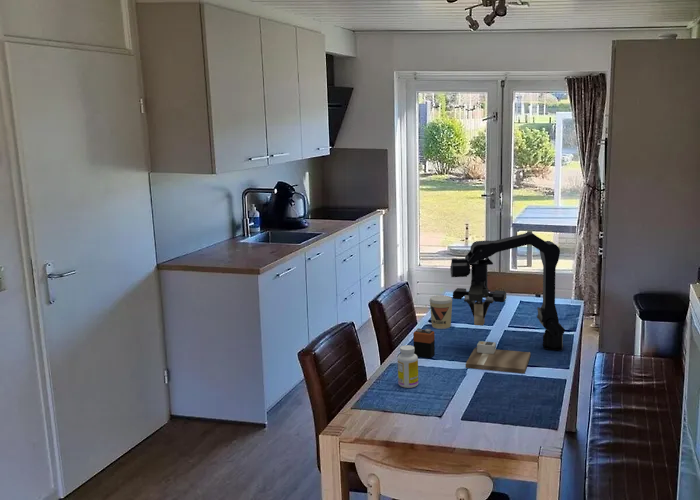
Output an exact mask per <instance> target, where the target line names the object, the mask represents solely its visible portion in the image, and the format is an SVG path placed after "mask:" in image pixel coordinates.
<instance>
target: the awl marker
mask: <svg viewBox="0 0 700 500" xmlns="http://www.w3.org/2000/svg"><path fill="white" fill-rule="evenodd" d="M483 313H484V302H483V300H482V301H475V304H474V316H473V323H474V324H473V326H480V327H481V326H484V324H485V321H486V320H485V319H486V317H485V318H483Z"/></svg>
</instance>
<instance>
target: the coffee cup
mask: <svg viewBox="0 0 700 500" xmlns="http://www.w3.org/2000/svg"><path fill="white" fill-rule="evenodd" d="M453 300H454V299H453V297H451V296H449V295H445V294H444V295H441V294H438V295H434V296H433V295H432V296H431V297H430V298H429V305H430V307H429V308H430V319H431V327H432V328H434V329H438V330H445V329H449V328H451V326H452V314H453V313H452V309H453Z"/></svg>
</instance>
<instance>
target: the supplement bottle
mask: <svg viewBox="0 0 700 500" xmlns="http://www.w3.org/2000/svg"><path fill="white" fill-rule="evenodd" d="M399 351H400V354H398V356H397V381H398V386H400V387H401V388H405V389H407V388H408V389H411V388H416V387H417V386H418V385H419V358H418V357H419V356H417V355H416V354H414V351H415V348H414V345H410V344H409V345H408V344H407V345H401V346H400V347H399Z"/></svg>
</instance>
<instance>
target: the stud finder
mask: <svg viewBox="0 0 700 500" xmlns="http://www.w3.org/2000/svg"><path fill="white" fill-rule="evenodd" d="M496 345H497V343H496V342H493V341H482V340H479V341H478V343H477V344H476V348H477V353H488V354H494V353H495V351H496V349H497V348H496V347H497V346H496Z"/></svg>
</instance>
